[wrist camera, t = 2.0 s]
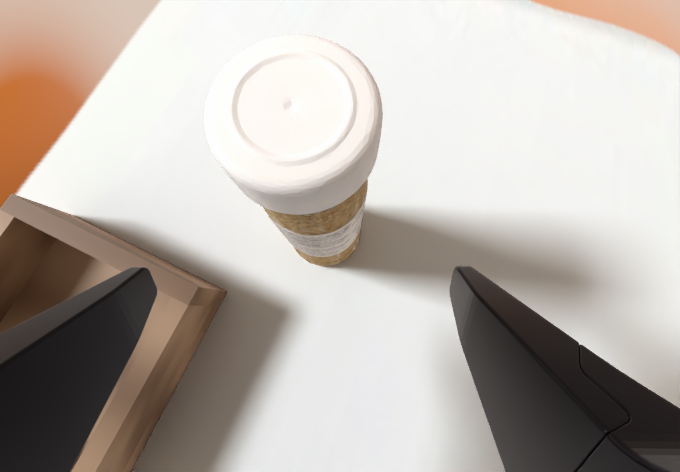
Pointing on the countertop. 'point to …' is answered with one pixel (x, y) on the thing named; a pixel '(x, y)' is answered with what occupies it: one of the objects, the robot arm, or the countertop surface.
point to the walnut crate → (83, 273)
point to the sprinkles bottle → (299, 138)
